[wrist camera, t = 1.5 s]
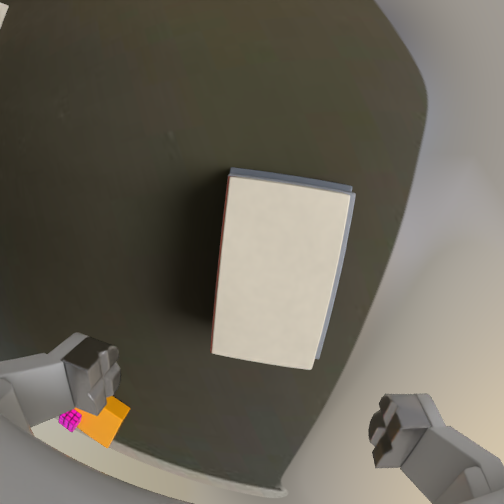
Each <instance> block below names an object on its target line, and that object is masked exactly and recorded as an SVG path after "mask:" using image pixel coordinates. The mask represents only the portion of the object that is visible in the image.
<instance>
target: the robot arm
mask: <svg viewBox="0 0 504 504" xmlns="http://www.w3.org/2000/svg"><path fill="white" fill-rule="evenodd" d="M118 358H119V352H118V348H117V347H116V346H114V345H111V344H109V343H106V342H103V341H100V340H98V339H95V338H92V337H89V336H86V335H84V334H81V333H74V334H72V335H71V336H70V337H69V338H67V339H66V340H65V341H64V342H62V343H61V344H60V345H59V346H57V347H56V348H55V349H54V350H52V351H51V352H50V353H49V354H45V353H41V354H37V355H32V356H27V357H22V358H17V359H12V360H6V361H1V362H0V504H193V503H189V502H185V501H181V500H177V499H174V498H170V497H167V496H164V495H161V494H158V493H154V492H151V491H149V490H146V489H143V488H140V487H137V486H135V485H132V484H129V483H127V482H124V481H121V480H119V479H117V478H114V477H112V476H109V475H107V474H105V473H103V472H100V471H98V470H95V469H94V468H92V467H89V466H87V465H85V464H83V463H81V462H79V461H77V460H75V459H73V458H71V457H69V456H67V455H66V454H64V453H62V452H60V451H58V450H57V449H55V448H53V447H51V446H50V445H48V444H46V443H44V442H42V441H41V440H40V439H38V438H36V437H35V436H34V434H33V432H32V430H31V428H30V427H33V426H35V425H38V424H40V423H43V422H45V421H47V420H50V419H52V418H54V417H57V416H59V415H61V414H64V413H66V412H68V411H70V410H73V409H75V407H76V408H78V409H80V410H83V411H85V412H88V413H90V414H93V415H95V416H98V415H99V414H100V412H101V411H102V410H103V408H104V407H105V406H106V404H107V400H106V398H107V397H110V396H113V395H114V394H115V393H116V391H117V390H118V387H119V385H120V382H121V369H120V367H119V366H118V364H117V363H116V361H117V360H118ZM379 406H380V410H379V411H377V412H376V413H375V414H374V415H373V417H372V419H371V421H370V425H369V440H370V442H371V443H372V444H373V445H374V446H375V448H374V450H373V452H372V453H373V458H374V463H375V468H398V467H401V468H400V469H401V470H402V471H403V472H404V473H405V475H406V476H407V477H408V478H409V479H410V480H411V481H412V482H413V483H414V484H415V485H416V487H417V488H418V489H419V490H420V491H421V492H422V493H423V494H424V495H425V496H426V497H427V498H428V499H429V501H431V503H432V504H504V466H503V464H502V462H501V460H500V459H499V458H498V457H496V456H495V455H493V454H491V453H490V452H488V451H487V450H485V449H484V448H482V447H481V446H479V445H478V444H476V443H475V442H473V441H472V440H470V439H469V438H467V437H466V436H464V435H463V434H461V433H460V432H458V431H457V430H455V429H454V428H452V427H451V426H446V425H445V423H444V421H443V419H442V417H441V415H440V413H439V411H438V409H437V407H436V405H435V403H434V401H433V400H432V398H431V396H430V395H429V394H426V393H425V394H385V395H384V396H383V397H382V398H381V400H380V402H379Z"/></svg>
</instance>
